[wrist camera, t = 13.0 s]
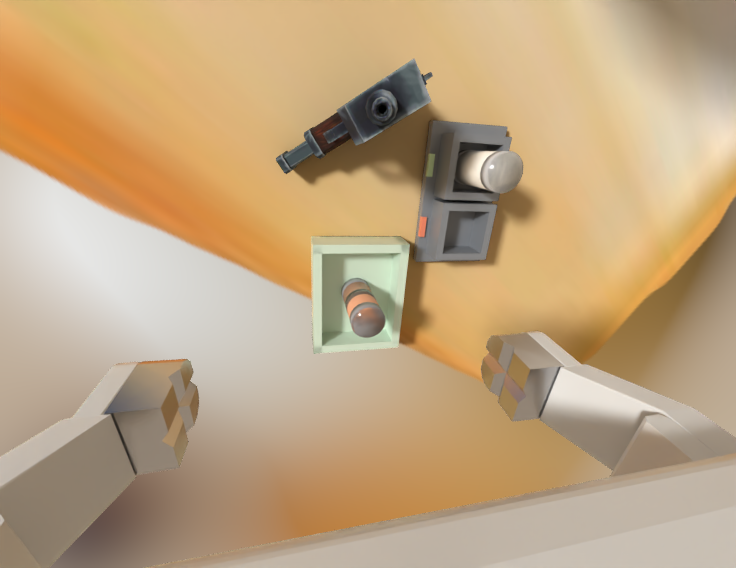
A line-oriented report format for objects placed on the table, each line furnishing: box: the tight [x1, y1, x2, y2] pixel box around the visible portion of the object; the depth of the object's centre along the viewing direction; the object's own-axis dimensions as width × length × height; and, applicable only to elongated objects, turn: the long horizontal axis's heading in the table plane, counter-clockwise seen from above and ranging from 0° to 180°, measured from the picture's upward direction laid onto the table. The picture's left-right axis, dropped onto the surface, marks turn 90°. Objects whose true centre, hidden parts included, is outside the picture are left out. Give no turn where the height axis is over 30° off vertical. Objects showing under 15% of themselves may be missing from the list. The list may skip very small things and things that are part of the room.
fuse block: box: [413, 120, 512, 262], centre depth 37 cm, size 16×9×4 cm, turn 177°
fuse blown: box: [341, 278, 386, 338], centre depth 37 cm, size 4×4×8 cm
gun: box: [276, 59, 433, 174], centre depth 27 cm, size 3×17×15 cm
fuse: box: [454, 150, 523, 193], centre depth 33 cm, size 4×4×8 cm
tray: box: [311, 236, 410, 354], centre depth 40 cm, size 14×11×4 cm
